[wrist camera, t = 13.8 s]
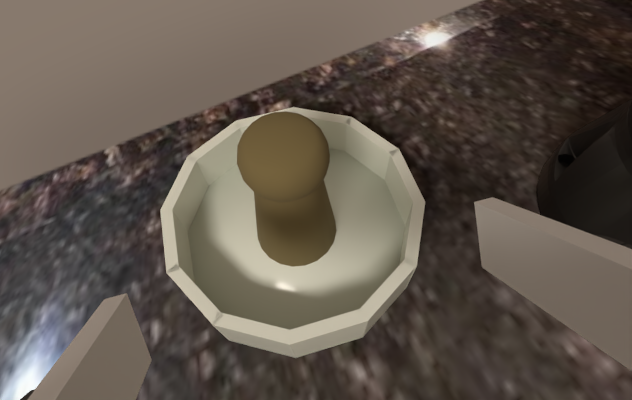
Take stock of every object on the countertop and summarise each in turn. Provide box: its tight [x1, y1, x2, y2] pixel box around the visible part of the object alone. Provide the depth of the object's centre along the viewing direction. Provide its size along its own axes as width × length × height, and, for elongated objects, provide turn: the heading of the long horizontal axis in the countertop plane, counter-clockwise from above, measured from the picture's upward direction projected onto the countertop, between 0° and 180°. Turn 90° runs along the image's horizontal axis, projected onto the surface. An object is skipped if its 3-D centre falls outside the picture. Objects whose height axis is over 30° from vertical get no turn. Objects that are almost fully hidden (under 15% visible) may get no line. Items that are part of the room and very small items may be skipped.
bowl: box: [160, 107, 425, 358], centre depth 30 cm, size 18×18×4 cm
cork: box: [237, 111, 336, 267], centre depth 26 cm, size 6×6×11 cm
